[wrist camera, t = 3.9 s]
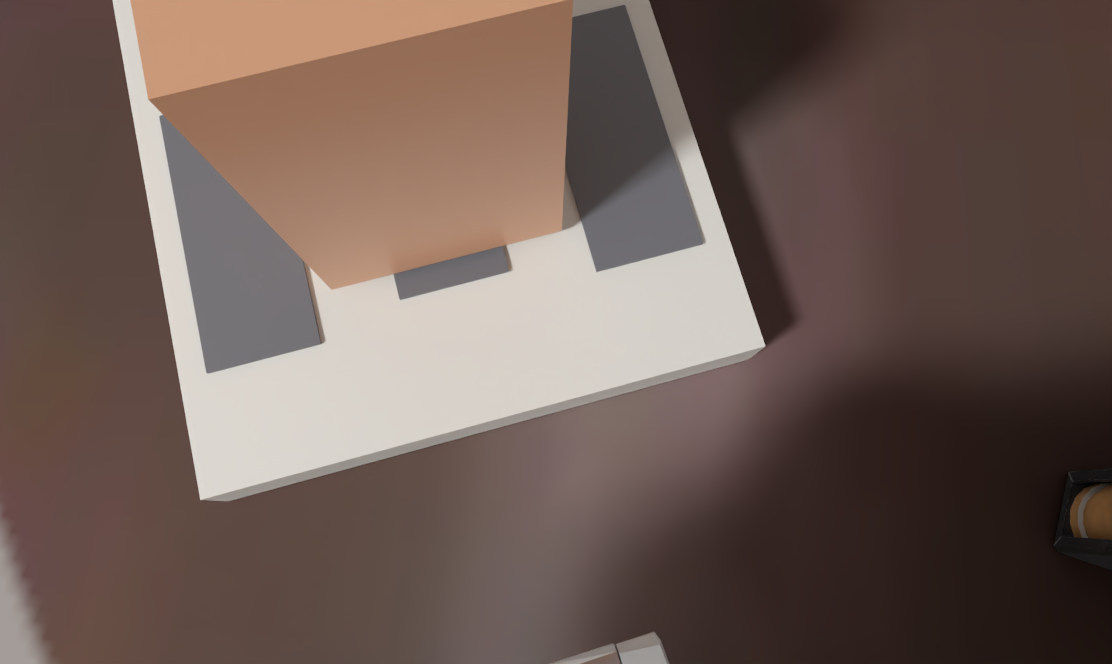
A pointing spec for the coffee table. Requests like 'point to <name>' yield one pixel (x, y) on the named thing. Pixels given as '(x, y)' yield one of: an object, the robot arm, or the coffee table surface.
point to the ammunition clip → (1087, 517)
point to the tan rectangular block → (372, 119)
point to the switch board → (448, 289)
